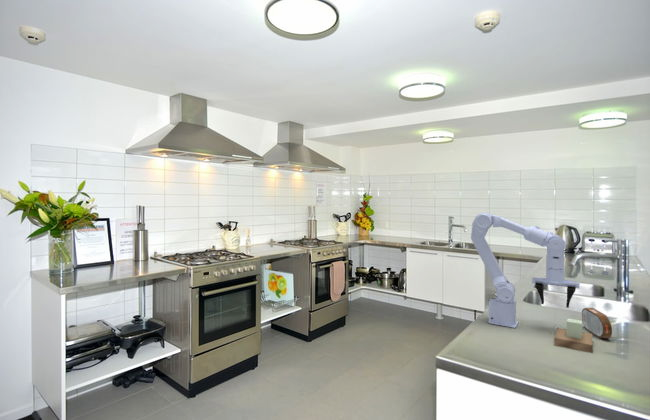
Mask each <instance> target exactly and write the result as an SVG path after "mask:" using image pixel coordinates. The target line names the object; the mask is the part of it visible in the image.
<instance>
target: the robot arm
mask: <svg viewBox="0 0 650 420" xmlns="http://www.w3.org/2000/svg"><path fill="white" fill-rule="evenodd" d="M471 226H472V227H471V233H470V240H471V241H472V243H473V246H474V248H475V250H476V251H477V253H478V255H479V258H480V259H481V261H482V262H483V264H484V267H485V268H486V270H487V273H488V274H489V276H490V278H491V280H492V283H493V286H494V289H495V295H496V297H495V298H489V302H488V321H487V322H488V323H487V324H492V325H497V326H503V327H509V328H513V329H516V328H517V326H518V324H519V321H518V320H517V299H515V296H516V295H515V293H516V288H515V286H514V284H513V283H512V282H510V280H508V278H507V276H506V275H505V274H504V272H503V270H502V267H500V264H499V263H498V261H497V258H496V257H495V255H494V253H493V251H492V249H491V248H490V245H489V243H488V242H487V240H486V238H485V237H487V236H486V235H487V233H488V230H489V229H490V228H504V229H507V230H509V231H512V232H515V233H517V234H520V235H523V238H524V240H525V241H528V242H531V243H533V244H535V245H538V246H540V247H546V255H545V277H542V278H541V277H531V284H535V285H534V287H535V288H536V291H537V293H538V295H539V296H538V297H539V299H540V304H541V305H544V304H545V297H544V296H545V295H544V294H545V293H544V292H545V285H547V286H555V287H556V286H557V287H564V288H565V287H566V304H565V305H566V308H568V309H569V307H570V303H571V300H572V298H573V295H574V294H575V292H576V289H578V290H579V289H580V286H581V285H580V282H579V281H572V280H566V279H565V272H566V271H565V270H566V269H565V268H566V265H565V262H566V259H565V258H566V257H565V254H566V252H565V249H566V247H567V244H566V241H565V240H564V239H563V238H562V236H559V235H558V234H554V232H553V231H550V232H548V231H547V230H544V229H541V228H540V226H538V225H535V226H534V225H530V226H527V227H526V226H524V225H522V224H519V223H517V222H515V221H512V220H511V219H507V218H505V217H502V216H500V215H496V214H491V213H489V212H481V213H478V214H477V215H476V216H475V218H474V219H473V221H472V225H471Z"/></svg>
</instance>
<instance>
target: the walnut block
mask: <svg viewBox="0 0 650 420" xmlns="http://www.w3.org/2000/svg"><path fill="white" fill-rule="evenodd" d="M553 339H554V346H556V347H561V348H566V349H570V350H575V351H576V350H577V351H581V352H585V353H589V354H590V353H591V354H593V333H591V332H590V333H589V332H583V331H582V339H578V338H573V337H567V328H561V327H557V328H556V331H555V335H554V338H553Z"/></svg>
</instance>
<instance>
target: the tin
mask: <svg viewBox="0 0 650 420" xmlns="http://www.w3.org/2000/svg"><path fill="white" fill-rule="evenodd" d="M581 319H582V320H581V321H582V325H583V326H584V328H585V329H586V330H587V331H589V332H590V334H592V335H594V336H595V337H597V338H598V339H610V338H612V335H613V329H612V328H613V327H612V323H611V321H610V319H609V317H608V315H606V314H605V313H603V312H602V311H599V310H598V309H596V308H594V307H584V308H582V310H581Z"/></svg>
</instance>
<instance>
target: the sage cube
mask: <svg viewBox="0 0 650 420" xmlns="http://www.w3.org/2000/svg"><path fill="white" fill-rule="evenodd" d="M566 329H567V337H573V338H578V339H582V332H583V322H582V320H579V319H574V318H573V319H572V318H567V320H566Z"/></svg>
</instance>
